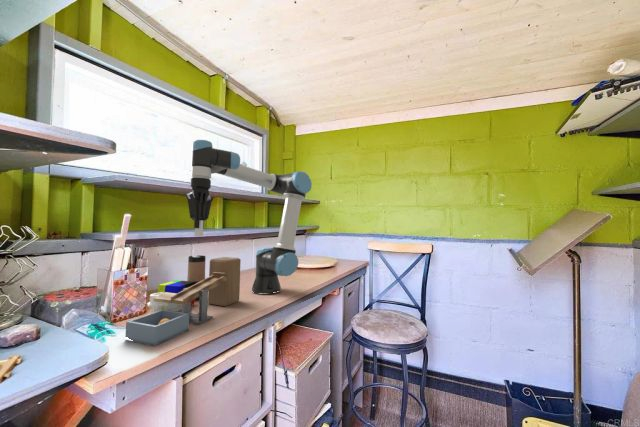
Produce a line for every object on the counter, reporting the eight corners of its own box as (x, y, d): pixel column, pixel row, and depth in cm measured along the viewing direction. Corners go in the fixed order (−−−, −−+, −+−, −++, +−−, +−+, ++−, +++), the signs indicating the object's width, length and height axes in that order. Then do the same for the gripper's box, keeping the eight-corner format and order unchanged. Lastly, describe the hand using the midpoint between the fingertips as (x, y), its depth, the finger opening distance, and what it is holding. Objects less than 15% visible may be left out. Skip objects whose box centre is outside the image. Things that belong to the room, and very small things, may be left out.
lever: (200, 278, 116) (199, 270, 115) (226, 280, 111) (226, 272, 111) (153, 301, 94) (152, 292, 94) (184, 305, 90) (183, 296, 90)
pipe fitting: (171, 313, 105) (172, 292, 106) (154, 319, 98) (155, 297, 99) (159, 311, 107) (160, 291, 108) (142, 316, 101) (143, 295, 101)
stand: (189, 314, 104) (190, 285, 104) (213, 318, 100) (214, 288, 101) (174, 320, 97) (176, 289, 98) (199, 324, 94) (200, 292, 94)
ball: (160, 315, 87) (153, 326, 85) (169, 317, 86) (162, 327, 84) (167, 321, 89) (159, 331, 87) (175, 322, 88) (168, 333, 86)
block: (207, 304, 118) (208, 258, 119) (222, 298, 127) (224, 256, 128) (225, 307, 114) (226, 260, 115) (240, 301, 124) (241, 257, 125)
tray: (161, 325, 92) (162, 309, 92) (188, 330, 89) (189, 313, 89) (125, 340, 80) (126, 321, 80) (154, 346, 77) (155, 326, 77)
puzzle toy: (178, 311, 108) (179, 286, 109) (157, 309, 110) (158, 284, 111) (194, 304, 118) (195, 281, 118) (174, 302, 120) (175, 280, 120)
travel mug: (199, 300, 123) (201, 257, 124) (183, 300, 123) (185, 257, 124) (206, 296, 131) (208, 255, 132) (191, 296, 131) (193, 255, 132)
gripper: (204, 181, 116) (202, 235, 115) (180, 175, 103) (178, 236, 102) (219, 180, 114) (217, 236, 112) (196, 175, 101) (193, 237, 100)
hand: (198, 236), depth 107 cm, fingers closed
